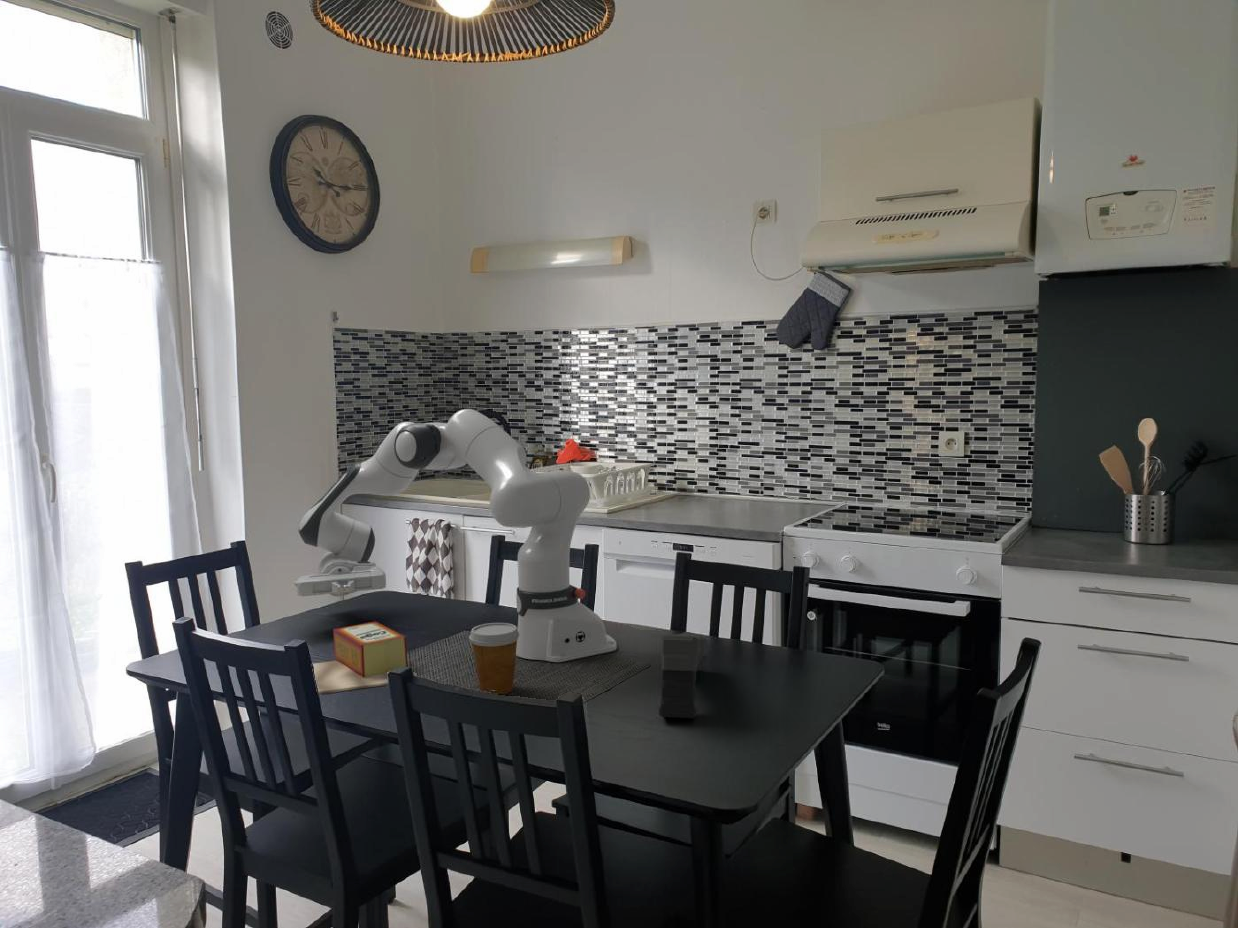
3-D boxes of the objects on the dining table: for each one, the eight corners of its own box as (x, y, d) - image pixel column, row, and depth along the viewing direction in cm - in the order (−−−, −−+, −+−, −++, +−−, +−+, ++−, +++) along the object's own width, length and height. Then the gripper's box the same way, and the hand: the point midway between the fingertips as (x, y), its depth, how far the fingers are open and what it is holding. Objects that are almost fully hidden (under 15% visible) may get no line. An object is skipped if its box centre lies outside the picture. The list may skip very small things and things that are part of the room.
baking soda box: (375, 621, 203) (406, 636, 190) (377, 650, 204) (407, 667, 191) (333, 629, 197) (362, 645, 185) (334, 659, 198) (363, 677, 185)
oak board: (398, 654, 202) (398, 652, 201) (412, 681, 184) (412, 678, 184) (311, 666, 195) (311, 663, 195) (317, 694, 177) (317, 691, 177)
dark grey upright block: (656, 717, 158) (659, 627, 161) (675, 709, 186) (677, 634, 189) (695, 719, 157) (697, 628, 160) (708, 711, 185) (709, 635, 188)
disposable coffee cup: (505, 678, 184) (503, 619, 183) (530, 690, 177) (528, 629, 176) (462, 688, 179) (460, 628, 178) (486, 702, 171) (483, 638, 170)
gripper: (293, 568, 222) (296, 580, 210) (381, 561, 230) (388, 572, 217) (295, 594, 223) (297, 608, 210) (382, 586, 231) (389, 598, 218)
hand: (344, 589), depth 214 cm, fingers closed
